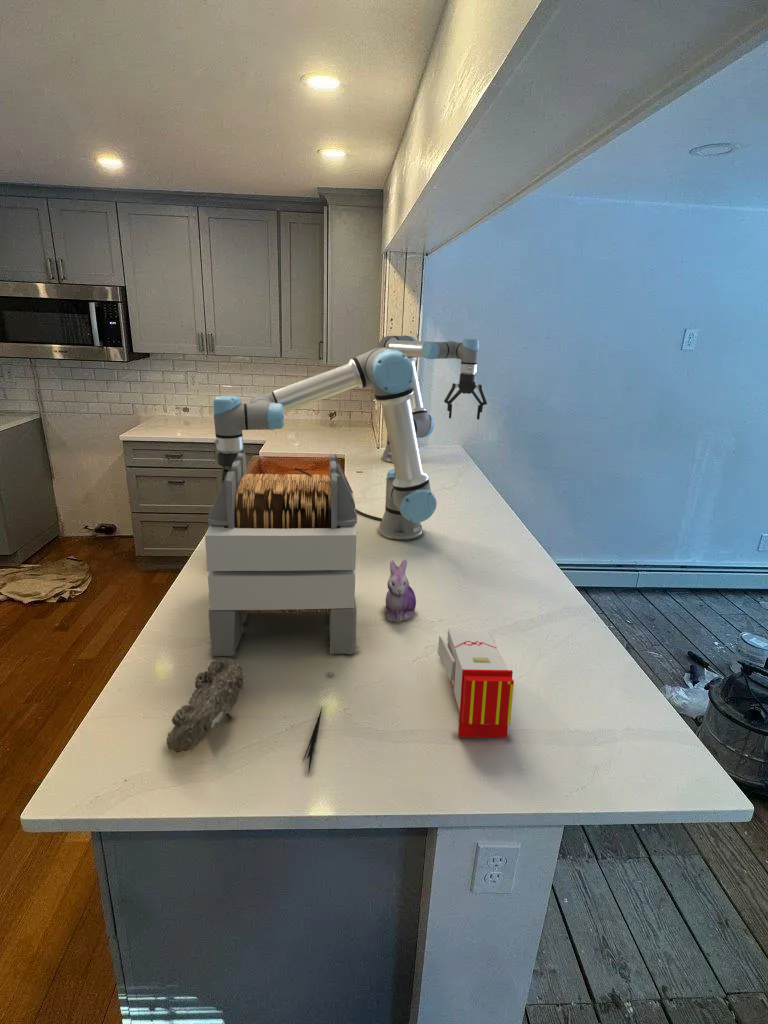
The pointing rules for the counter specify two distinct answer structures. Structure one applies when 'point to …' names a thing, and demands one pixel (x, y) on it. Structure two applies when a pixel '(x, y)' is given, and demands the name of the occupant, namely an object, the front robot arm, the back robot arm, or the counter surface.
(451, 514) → the counter surface
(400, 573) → the figurine
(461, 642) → the toy
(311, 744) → the feather
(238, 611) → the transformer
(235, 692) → the fossil
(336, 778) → the counter surface
